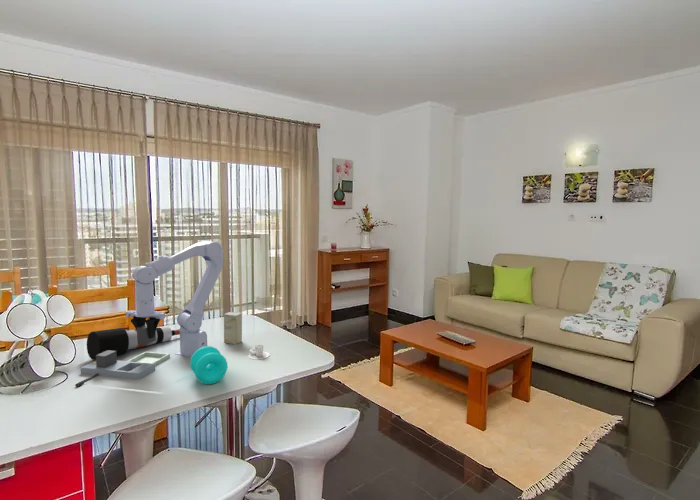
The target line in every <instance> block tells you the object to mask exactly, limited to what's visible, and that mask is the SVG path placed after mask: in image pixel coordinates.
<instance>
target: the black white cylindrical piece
mask: <svg viewBox="0 0 700 500" xmlns="http://www.w3.org/2000/svg"><path fill="white" fill-rule="evenodd" d="M179 330H180V328H179V329H175V330H174V329H171V328H170V327H169V326H161V327H157V328H156V341H153V342H151V343H149V344H147V345H142V344H138V342H137V330H136V329H131V330H130V329H129V330H126V329H125V328H123V327H118V328H117V327H116V328H110V329H103V330H94V331H90V332H89V334H88V335H87V338H86V350H87V351H86V352H87V354H88V357H89V359H91V360H92V361H96V355H98V354H100V353H102V352H105V351H107V350H111V351H116V353H117V356H120V355H125V354H126V353H128V351H129V350H133V349H135V350H136V349H139V348H144V347H147V346H151V345H155V344H160V343H166V342H170V341H171V339H172V337H173V336H177V335H178V336H180V333H179Z"/></svg>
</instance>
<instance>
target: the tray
mask: <svg viewBox="0 0 700 500" xmlns="http://www.w3.org/2000/svg"><path fill="white" fill-rule="evenodd" d="M169 358H171V354H170V353H164V352H154V351H144V352H143V353H140V354H138V355H136V356H135V357H131V358H130V359H128V360H127V361H130V362H140V363H150V364H155V367H156V366H158V365H159V364H161V363H163V362H164V361H166V360H168V359H169Z"/></svg>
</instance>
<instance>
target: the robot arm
mask: <svg viewBox="0 0 700 500" xmlns="http://www.w3.org/2000/svg"><path fill="white" fill-rule="evenodd" d="M224 254H225V251H224V248H223V247H222V245H221V243H220V242H218V241H212V240H207V239H203V240H201V241H200V242H196V243H194V244H192V245H190V246H189V247H186V248H185V249H183V250H181V251H179V252H177V253H175V254H174V255H173V254H172V255H171V256H168V255H159V256H158V257H157V258H156V259H154V260H153V261H150V262H145V263H144V264H145V265H140V266H136V267H135V268H134V270H133V271H132V272H133V273H132V274H131V277H132V279H133V280H134V284H135V286H134V287H135V288H134V289H135V290H134V293H135V309H134V310H133V309H132V310H131V309H130V310H127V311H125V317H126V318H130V317H132V319H131V318H130V322H131V324H132V325H133V326H134V328H135V330H137V327H139V326H142V325H144V324H146V325H147V328H148V336H149V339H151V338H153V337H154V336H155V332H156V328H158V325H159V323H160V321H161V320H164V319H166V312H162V311H157V310H155V297H154V295H155V293H154V281H155V279H156V278H158V277H160V276H163V275H164V274H167V273H168V272H171V271H172V270H173V269H174V268H175V265H177V264H179V263H182V262H184V261H187V260H189V259H191V258H194V257H202V258H203V259H204V261H205V264H206V266H207V267H206V269H205V271H204V273H203V276H202V278H201V280H200V281H199V283H198V286H197V287H196V290H195V292H194V294H193V295H192V297H191V300H190V302H189V303H188V304H187V305H185V307H183V310H182V311H181V312H180V313H179V314H178V315H177V317H176V322H177V325H178V326H179V329H180V330H179V333H180V335H179V351H178V352H175V354H174V355H176V356H187V357H192V355H193V354H194V353H195V352H196V351H197V350H198V349H200V348H202V347H205V346H208V335H207V332H206V331H204V330H201V327H202V323H203V322H202V321H203V317H204V315H205V314H204V307H205V305H206V303H207V301H208V299H209V297H210V295H211V293H212V291H213V288H214V287H215V284H216V282H217V280H218V278H219V276H220V274H221V272H222V270H223V268H224V258H223V256H224Z"/></svg>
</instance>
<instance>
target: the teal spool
mask: <svg viewBox="0 0 700 500" xmlns="http://www.w3.org/2000/svg"><path fill="white" fill-rule="evenodd" d="M189 366H190V369H191V371H192V372H193V373H194V374H195V377H196V379H197V381H199V383H202V384H204V385H213V384H216V383H218V382H219V381H220V380H222V379H223V378H224V376H225V375H226V373H227V370H228V361H227V359H226V357H224V355H222V354H221V352H220V351H219V350H218V348H216V347H214V346H210V345H207V346H205V347H202V348H200V349H198V350H197V351H196V352H195V353H194V354H193V355H192V356H190V364H189Z"/></svg>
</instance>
